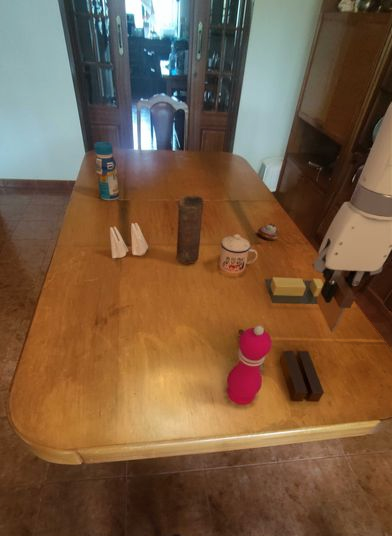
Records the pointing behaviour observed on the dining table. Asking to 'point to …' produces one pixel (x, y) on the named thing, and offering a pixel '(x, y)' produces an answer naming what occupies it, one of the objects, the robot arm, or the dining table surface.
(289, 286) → the butter
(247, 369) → the pepper mill
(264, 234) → the pastry
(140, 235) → the shaker set
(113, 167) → the beverage bottle
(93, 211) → the dining table surface
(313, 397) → the dark wooden bar pair
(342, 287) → the dark brown flat block
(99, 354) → the dining table surface
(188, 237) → the candle
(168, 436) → the dining table surface
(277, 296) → the slate board
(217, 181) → the dining table surface
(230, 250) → the teacup with lid
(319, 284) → the butter slice
